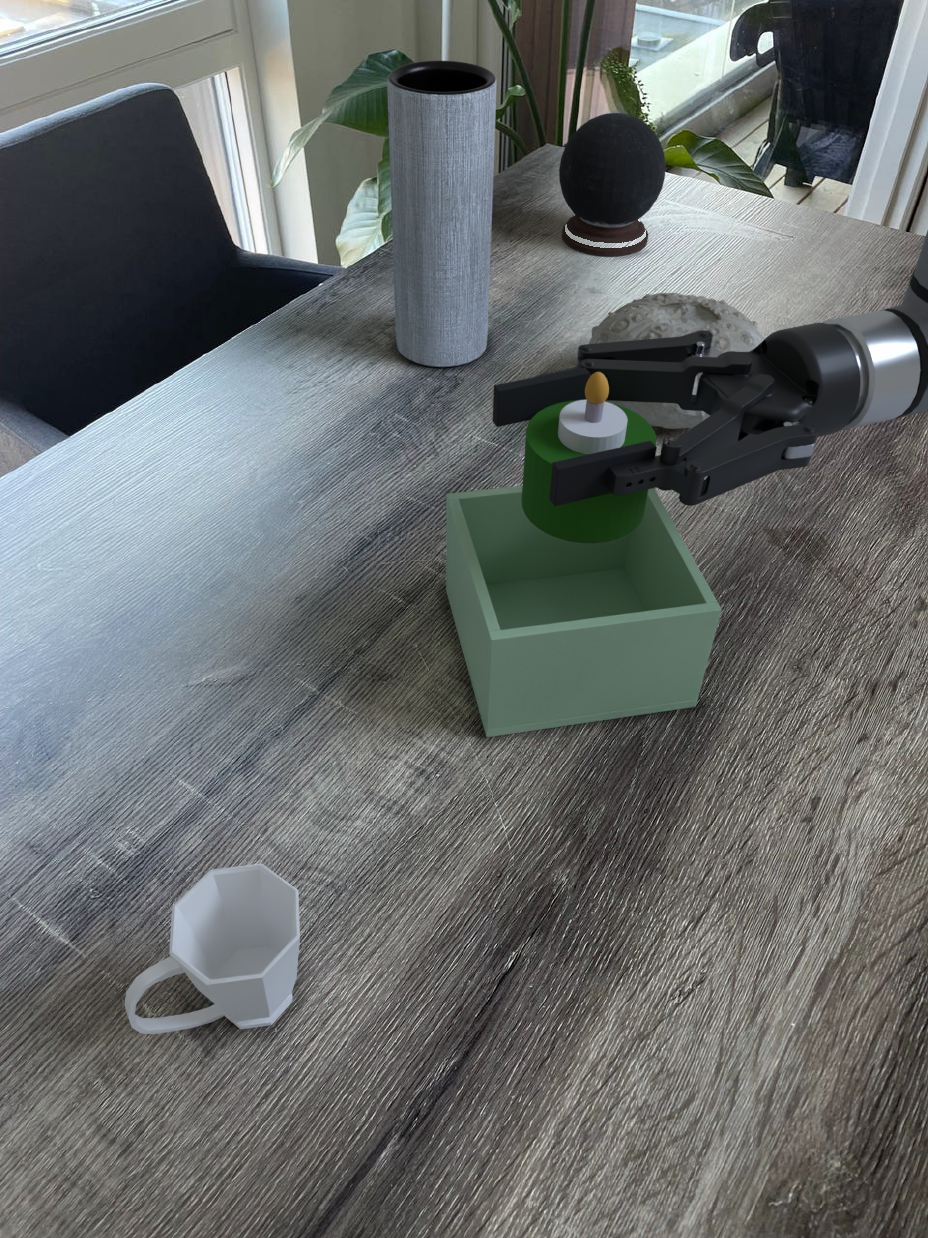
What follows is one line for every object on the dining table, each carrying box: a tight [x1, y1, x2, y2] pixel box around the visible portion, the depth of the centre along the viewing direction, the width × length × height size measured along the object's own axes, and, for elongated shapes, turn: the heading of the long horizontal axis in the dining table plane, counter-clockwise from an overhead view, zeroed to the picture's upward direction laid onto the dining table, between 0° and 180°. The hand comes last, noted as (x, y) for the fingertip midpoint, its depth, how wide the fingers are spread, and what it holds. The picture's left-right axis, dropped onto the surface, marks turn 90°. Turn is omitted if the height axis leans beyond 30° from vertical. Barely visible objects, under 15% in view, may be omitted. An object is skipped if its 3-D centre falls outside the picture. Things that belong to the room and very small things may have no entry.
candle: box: [521, 372, 657, 543], centre depth 64 cm, size 8×8×10 cm
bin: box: [445, 485, 723, 738], centre depth 74 cm, size 16×16×10 cm
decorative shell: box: [588, 292, 765, 430], centre depth 99 cm, size 18×18×10 cm
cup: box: [124, 862, 301, 1035], centre depth 53 cm, size 7×10×8 cm
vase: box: [386, 60, 498, 368], centre depth 100 cm, size 10×10×27 cm
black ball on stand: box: [558, 112, 667, 258], centre depth 125 cm, size 13×13×15 cm
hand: (523, 443), depth 62 cm, fingers closed on candle, 8 cm apart
